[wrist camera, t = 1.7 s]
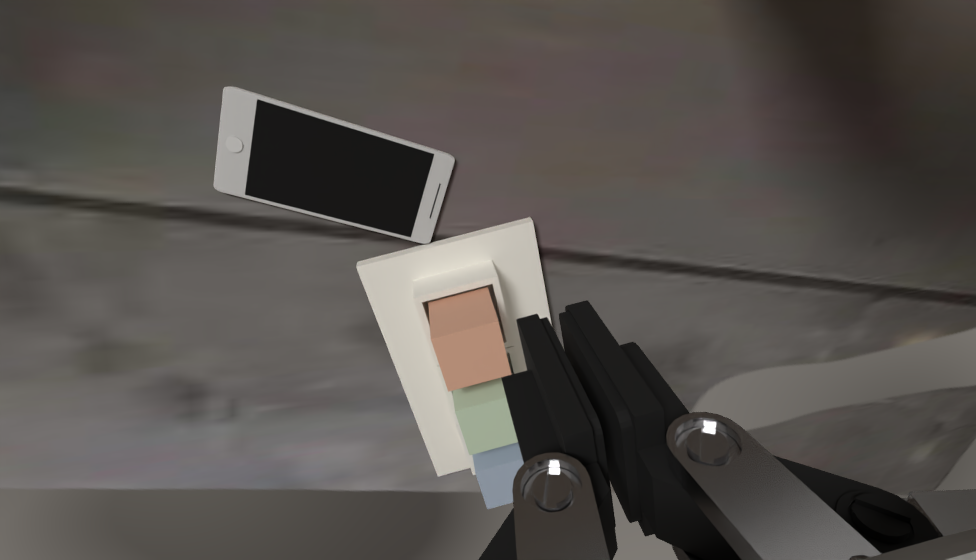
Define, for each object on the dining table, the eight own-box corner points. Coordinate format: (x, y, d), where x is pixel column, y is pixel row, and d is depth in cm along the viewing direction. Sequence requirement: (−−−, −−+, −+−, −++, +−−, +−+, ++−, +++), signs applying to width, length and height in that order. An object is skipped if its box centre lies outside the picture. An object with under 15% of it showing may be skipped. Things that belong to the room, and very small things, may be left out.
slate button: (518, 412, 41) (531, 456, 37) (527, 448, 43) (540, 494, 39) (468, 426, 41) (475, 472, 37) (479, 461, 43) (487, 509, 39)
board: (530, 216, 37) (542, 234, 33) (569, 432, 48) (582, 462, 44) (357, 261, 36) (351, 284, 33) (437, 468, 48) (439, 502, 44)
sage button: (504, 354, 38) (516, 394, 34) (514, 396, 40) (527, 439, 36) (449, 369, 38) (454, 411, 34) (463, 410, 40) (469, 455, 36)
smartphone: (227, 83, 30) (222, 84, 29) (455, 154, 34) (456, 157, 34) (217, 187, 33) (212, 190, 32) (429, 241, 37) (429, 246, 36)
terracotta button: (487, 286, 35) (498, 321, 31) (499, 335, 37) (511, 374, 33) (428, 302, 35) (430, 339, 31) (443, 350, 37) (448, 391, 33)
